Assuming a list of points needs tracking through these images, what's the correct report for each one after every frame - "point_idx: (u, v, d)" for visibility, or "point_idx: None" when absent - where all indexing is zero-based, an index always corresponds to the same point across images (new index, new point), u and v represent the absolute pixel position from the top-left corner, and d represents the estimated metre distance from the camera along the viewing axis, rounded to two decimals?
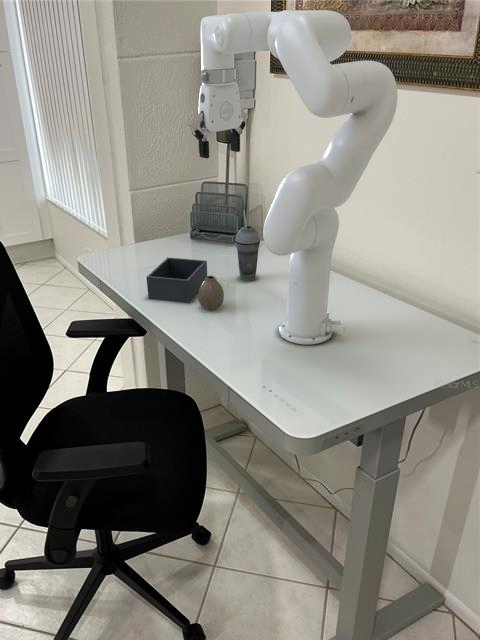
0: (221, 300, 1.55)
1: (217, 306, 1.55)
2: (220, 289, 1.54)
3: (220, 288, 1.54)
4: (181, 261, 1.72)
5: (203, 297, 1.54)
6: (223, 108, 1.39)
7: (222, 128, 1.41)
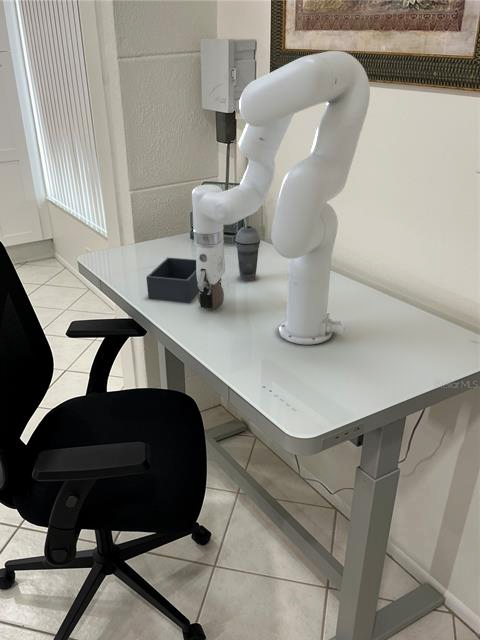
0: (221, 300, 1.55)
1: (217, 306, 1.55)
2: (220, 289, 1.54)
3: (220, 288, 1.54)
4: (181, 261, 1.72)
5: None
6: (218, 262, 1.50)
7: (218, 279, 1.52)
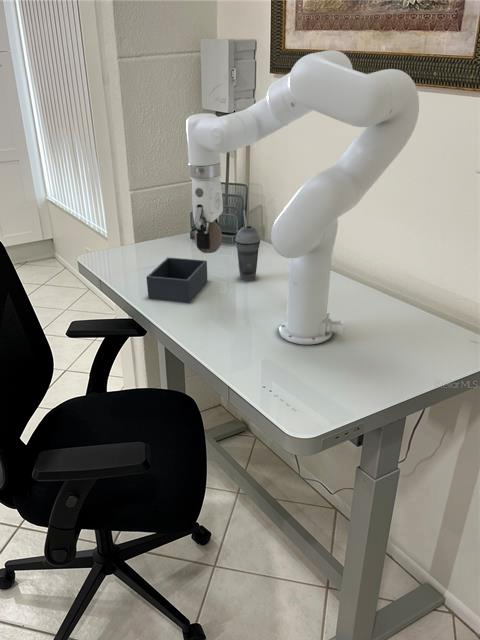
0: (219, 241, 1.47)
1: (215, 247, 1.47)
2: (218, 229, 1.46)
3: (218, 228, 1.46)
4: (181, 261, 1.72)
5: None
6: (216, 199, 1.42)
7: (216, 217, 1.44)
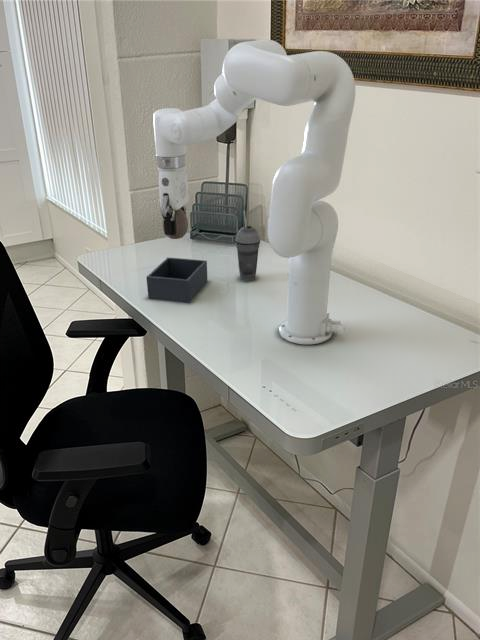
0: (185, 228, 1.57)
1: (181, 234, 1.58)
2: (184, 216, 1.56)
3: (184, 215, 1.56)
4: (181, 261, 1.72)
5: None
6: (181, 188, 1.52)
7: (182, 205, 1.54)
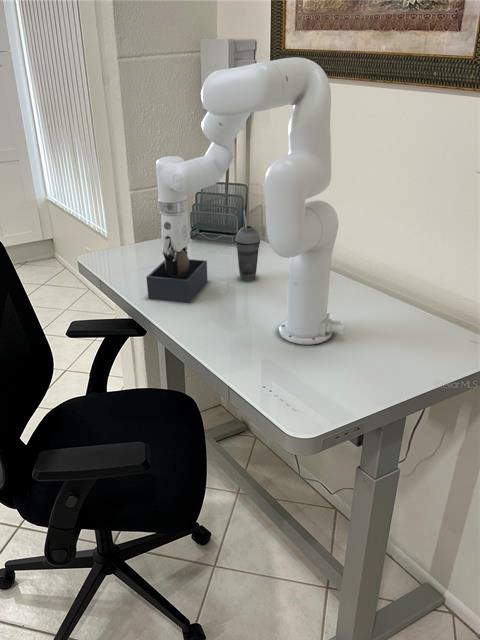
0: (186, 267, 1.64)
1: (182, 273, 1.64)
2: (185, 257, 1.63)
3: (185, 256, 1.63)
4: None
5: None
6: (183, 231, 1.59)
7: (183, 247, 1.60)
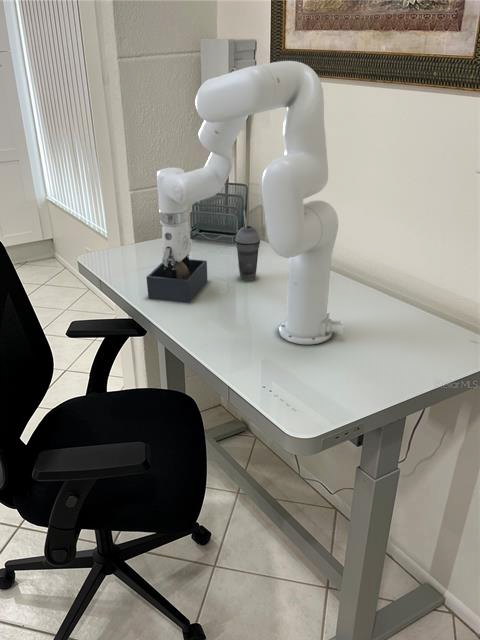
0: None
1: None
2: (186, 270, 1.65)
3: (186, 269, 1.65)
4: None
5: None
6: (183, 241, 1.60)
7: (184, 257, 1.62)
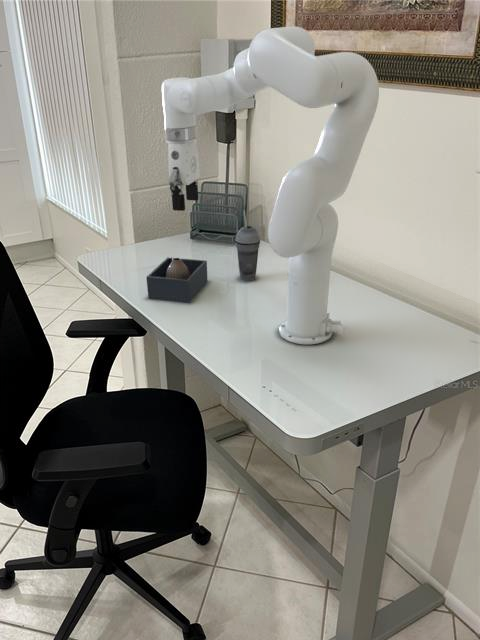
0: None
1: None
2: (186, 270, 1.65)
3: (186, 269, 1.65)
4: None
5: None
6: (192, 162, 1.46)
7: (192, 180, 1.47)
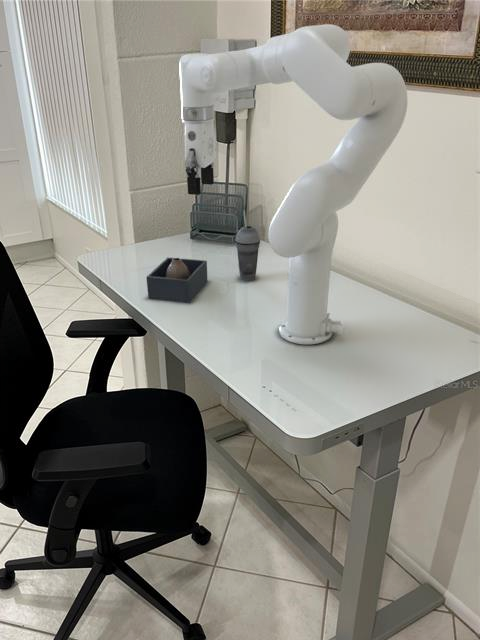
0: None
1: None
2: (186, 270, 1.65)
3: (186, 269, 1.65)
4: None
5: None
6: (209, 143, 1.39)
7: (209, 163, 1.41)
